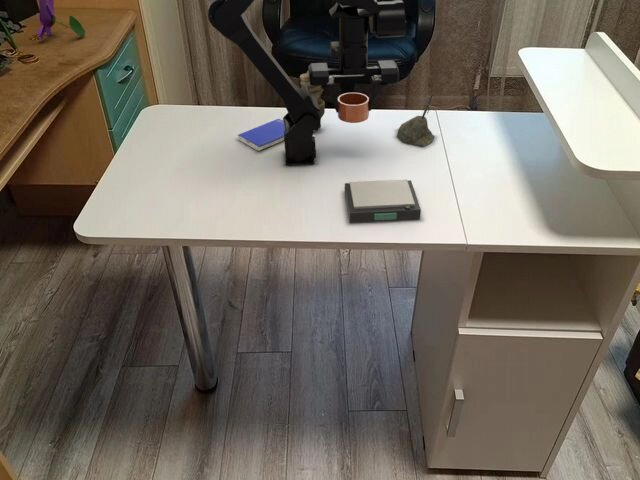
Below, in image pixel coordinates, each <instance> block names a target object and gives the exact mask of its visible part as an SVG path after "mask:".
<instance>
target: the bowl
mask: <svg viewBox="0 0 640 480" xmlns="http://www.w3.org/2000/svg"><path fill="white" fill-rule="evenodd" d="M337 101H338V113H337V117H338V119H339V120H340V121H342V122H345V123H349V124H350V123H351V124H358V123H364V122H365V121H367V120H368V119H369V115H370V111H369V95H368V96H367V95H366V94H364V93H361V92H346V93H342V94H340V95H339V96H337Z"/></svg>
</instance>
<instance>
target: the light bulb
mask: <svg viewBox="0 0 640 480" xmlns="http://www.w3.org/2000/svg"><path fill="white" fill-rule="evenodd" d="M299 75H300V76H299V80H300V85H301V87H300V88H301V89H302V88H303V87H304V86H305V85H306V86H307V87H308V89H309V91H310V93H311V94H312V95H313V96H314V97H316V98H317V102H318V105H319V108H320V111H319V114H320V118H321V119H322V118H323V116H324V115H325V113H326V112H325V111H326V102H325V101H324V100H323V99H322V98H321V95H322V94H323V92H324V89H322V88H321V86H312V85H310V80H309V70H307V71H306V73H302V74H299ZM321 122H322V121H321ZM321 122H320V125H319V127H318V128H317V129H316V130H315V131H314V132H316V131H319V129H321V126H322V123H321Z"/></svg>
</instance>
